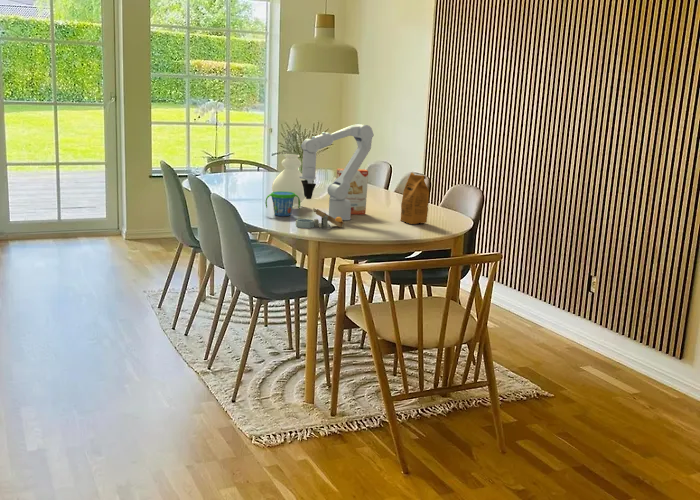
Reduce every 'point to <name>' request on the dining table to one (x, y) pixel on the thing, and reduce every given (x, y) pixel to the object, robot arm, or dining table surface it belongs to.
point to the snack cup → (282, 202)
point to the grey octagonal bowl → (304, 223)
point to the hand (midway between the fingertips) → (307, 197)
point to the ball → (338, 219)
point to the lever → (328, 217)
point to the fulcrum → (322, 222)
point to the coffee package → (415, 200)
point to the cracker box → (357, 191)
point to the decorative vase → (290, 179)
